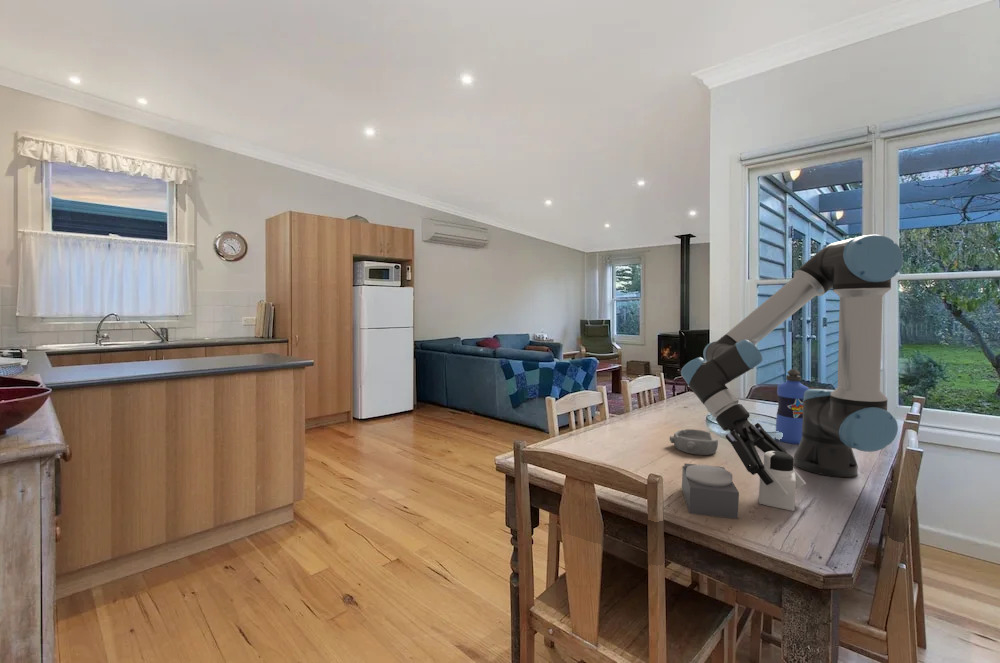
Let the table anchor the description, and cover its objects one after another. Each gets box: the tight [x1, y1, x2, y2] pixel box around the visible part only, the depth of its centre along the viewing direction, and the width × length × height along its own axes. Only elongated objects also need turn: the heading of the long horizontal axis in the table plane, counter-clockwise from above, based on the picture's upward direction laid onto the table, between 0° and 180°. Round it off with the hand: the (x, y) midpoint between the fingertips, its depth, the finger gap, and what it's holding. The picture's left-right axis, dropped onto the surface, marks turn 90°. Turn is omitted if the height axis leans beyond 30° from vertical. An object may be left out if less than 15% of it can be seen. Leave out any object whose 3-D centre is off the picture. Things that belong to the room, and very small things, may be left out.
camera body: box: [681, 463, 740, 520], centre depth 108 cm, size 10×14×8 cm
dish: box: [669, 428, 719, 456], centre depth 148 cm, size 14×14×5 cm
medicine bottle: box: [758, 451, 797, 512], centre depth 108 cm, size 7×7×12 cm
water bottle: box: [775, 368, 810, 445], centre depth 158 cm, size 9×9×25 cm
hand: (792, 491), depth 106 cm, fingers closed on medicine bottle, 9 cm apart
